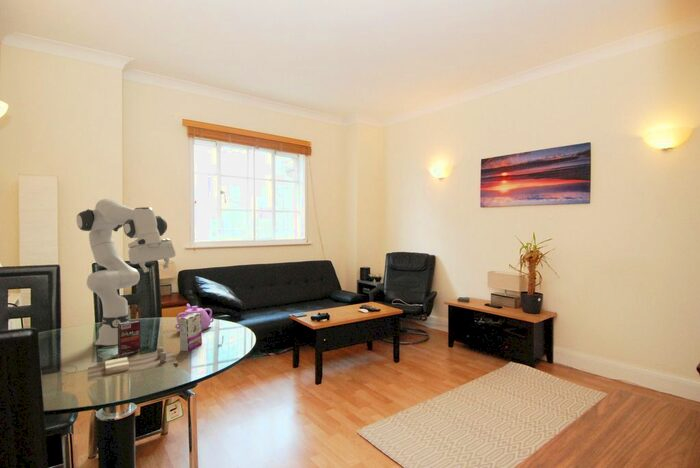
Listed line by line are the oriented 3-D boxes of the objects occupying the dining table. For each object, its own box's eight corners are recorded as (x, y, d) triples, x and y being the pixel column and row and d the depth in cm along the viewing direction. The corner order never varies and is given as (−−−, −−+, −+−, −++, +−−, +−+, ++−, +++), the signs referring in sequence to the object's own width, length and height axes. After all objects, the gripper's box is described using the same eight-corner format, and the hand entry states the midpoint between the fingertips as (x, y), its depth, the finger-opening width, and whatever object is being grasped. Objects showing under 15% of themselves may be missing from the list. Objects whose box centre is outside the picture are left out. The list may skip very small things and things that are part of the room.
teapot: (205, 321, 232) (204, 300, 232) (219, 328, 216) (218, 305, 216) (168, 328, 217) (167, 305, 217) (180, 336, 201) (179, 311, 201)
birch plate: (105, 366, 155) (105, 361, 155) (127, 362, 159) (127, 356, 159) (106, 374, 147) (105, 368, 147) (129, 369, 151) (128, 363, 151)
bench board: (88, 370, 155) (87, 358, 154) (170, 354, 173) (170, 342, 173) (87, 385, 140) (87, 371, 140) (177, 365, 158) (177, 353, 158)
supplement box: (120, 359, 168) (119, 325, 168) (117, 356, 171) (116, 323, 171) (141, 354, 174) (140, 321, 174) (138, 351, 178) (137, 319, 177)
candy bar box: (193, 343, 188) (192, 312, 188) (202, 344, 187) (201, 312, 187) (179, 351, 177) (178, 318, 177) (188, 351, 176) (187, 318, 176)
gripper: (167, 239, 177) (173, 267, 177) (124, 245, 160) (130, 275, 159) (174, 237, 174) (181, 265, 174) (131, 242, 157) (138, 273, 156)
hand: (156, 270), depth 167 cm, fingers open, 8 cm apart
